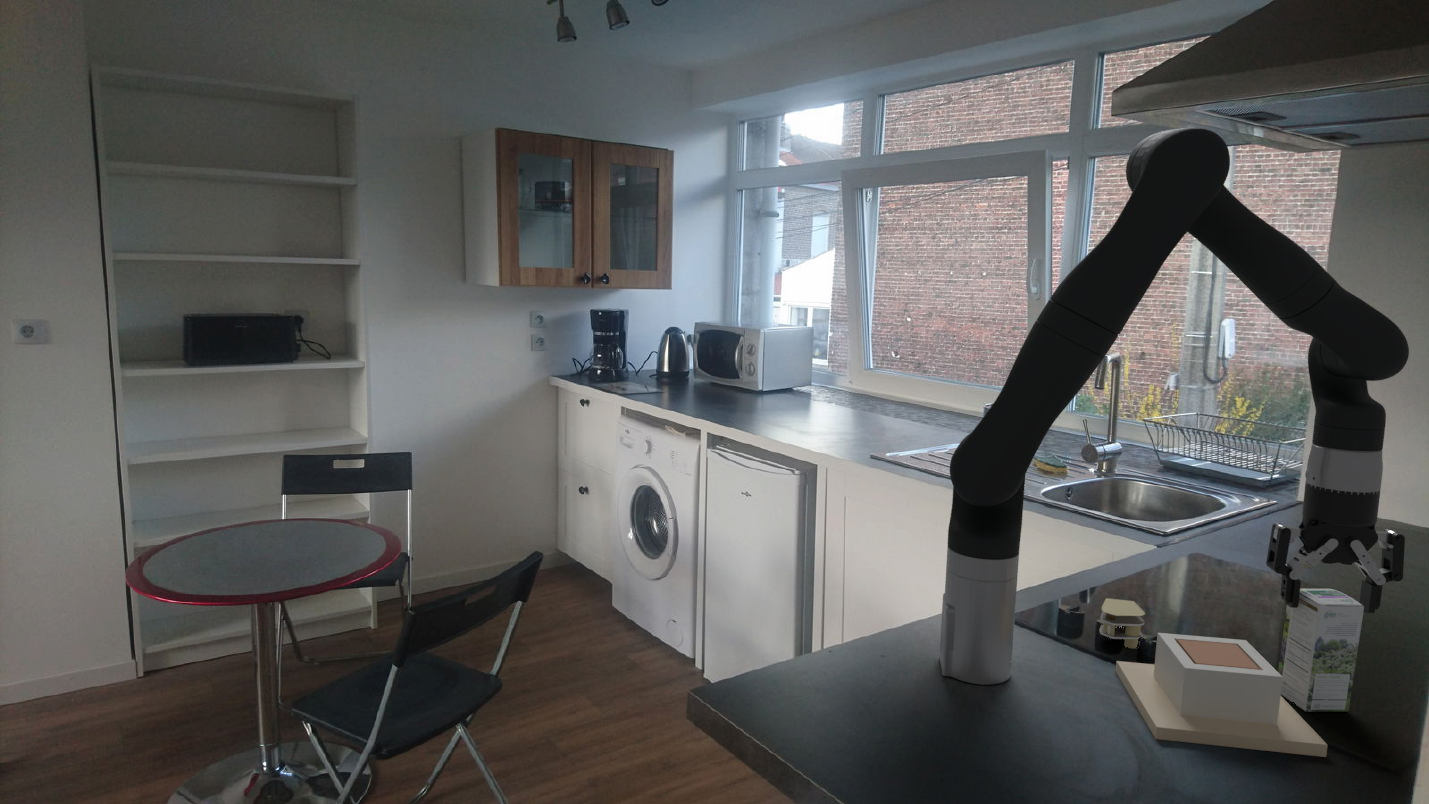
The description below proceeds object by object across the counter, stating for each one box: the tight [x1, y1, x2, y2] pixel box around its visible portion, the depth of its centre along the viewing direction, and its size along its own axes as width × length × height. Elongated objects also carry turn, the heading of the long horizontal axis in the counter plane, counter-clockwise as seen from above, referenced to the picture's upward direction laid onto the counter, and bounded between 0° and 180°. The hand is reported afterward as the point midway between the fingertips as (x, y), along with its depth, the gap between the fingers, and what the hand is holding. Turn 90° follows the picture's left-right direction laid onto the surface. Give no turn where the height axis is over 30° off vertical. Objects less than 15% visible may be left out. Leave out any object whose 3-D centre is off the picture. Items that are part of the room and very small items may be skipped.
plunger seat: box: [1177, 640, 1259, 670], centre depth 108 cm, size 7×7×1 cm
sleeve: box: [1115, 632, 1329, 758], centre depth 108 cm, size 18×18×8 cm
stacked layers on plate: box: [1098, 597, 1146, 649], centre depth 129 cm, size 10×9×6 cm
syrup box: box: [1277, 588, 1364, 713], centre depth 110 cm, size 6×6×14 cm
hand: (1328, 608), depth 109 cm, fingers open, 8 cm apart
